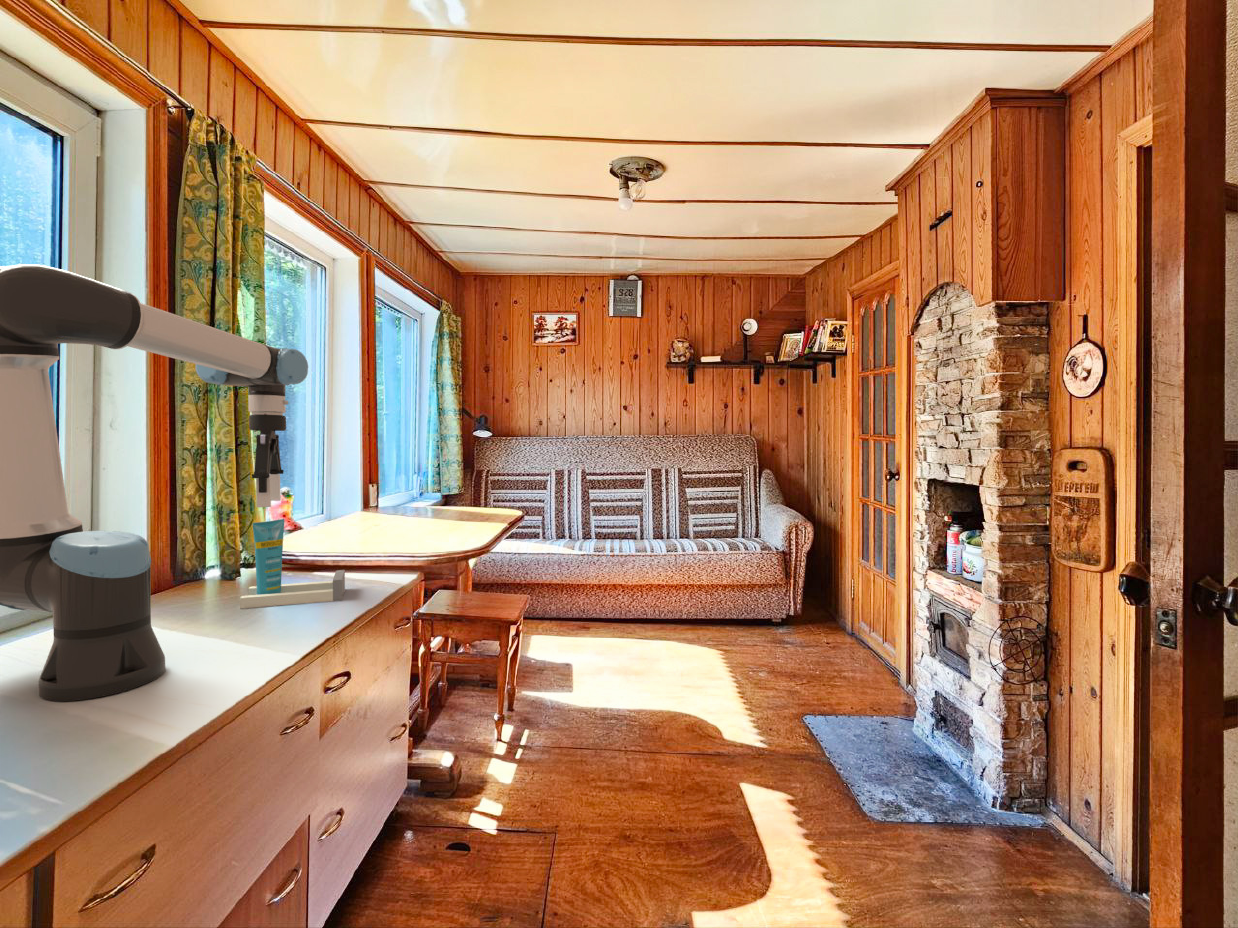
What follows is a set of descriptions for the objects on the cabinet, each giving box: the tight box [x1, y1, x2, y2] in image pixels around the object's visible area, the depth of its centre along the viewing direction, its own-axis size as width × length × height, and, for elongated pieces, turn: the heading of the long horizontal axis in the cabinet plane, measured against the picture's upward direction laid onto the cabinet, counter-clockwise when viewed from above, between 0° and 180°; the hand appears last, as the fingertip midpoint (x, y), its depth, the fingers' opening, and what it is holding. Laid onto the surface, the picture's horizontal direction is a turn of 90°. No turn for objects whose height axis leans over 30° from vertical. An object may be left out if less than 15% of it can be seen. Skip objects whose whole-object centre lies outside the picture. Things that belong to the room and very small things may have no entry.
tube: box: [252, 518, 285, 595], centre depth 140 cm, size 7×5×19 cm, turn 157°
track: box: [239, 569, 346, 610], centre depth 142 cm, size 11×21×5 cm, turn 112°
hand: (269, 503), depth 139 cm, fingers open, 13 cm apart
